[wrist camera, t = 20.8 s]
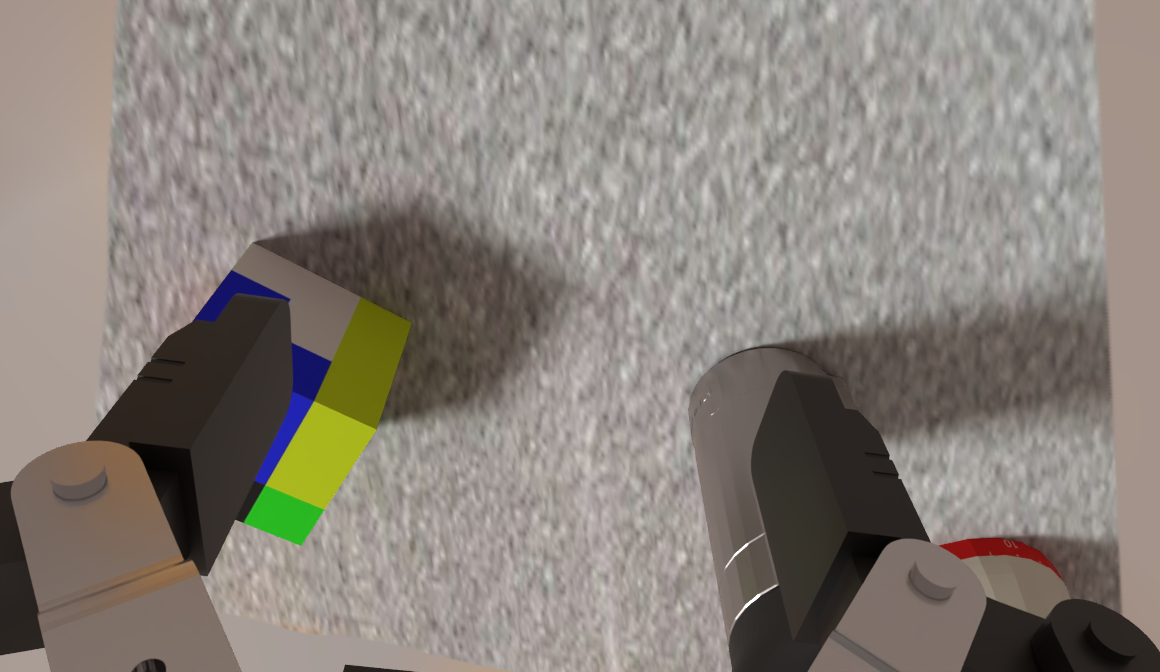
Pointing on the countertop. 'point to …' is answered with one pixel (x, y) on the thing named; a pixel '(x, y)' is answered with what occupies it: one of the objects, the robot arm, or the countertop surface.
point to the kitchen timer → (1012, 573)
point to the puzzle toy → (315, 388)
